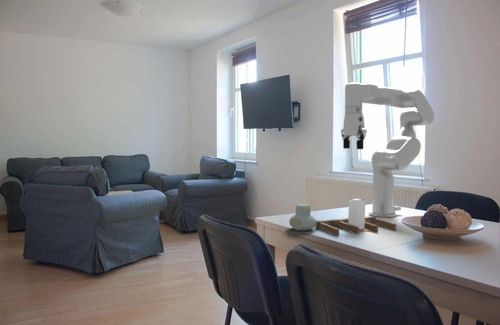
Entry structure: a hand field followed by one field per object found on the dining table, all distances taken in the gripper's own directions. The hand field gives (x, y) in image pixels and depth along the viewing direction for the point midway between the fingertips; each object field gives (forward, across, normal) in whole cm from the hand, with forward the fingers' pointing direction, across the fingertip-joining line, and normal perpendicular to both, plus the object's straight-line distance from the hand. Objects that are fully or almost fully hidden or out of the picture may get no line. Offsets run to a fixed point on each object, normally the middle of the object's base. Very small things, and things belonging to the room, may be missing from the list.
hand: (353, 148), depth 184 cm
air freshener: (+32, -11, +33) cm, 47 cm away
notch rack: (+32, -18, +12) cm, 39 cm away
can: (+32, -18, +12) cm, 38 cm away
